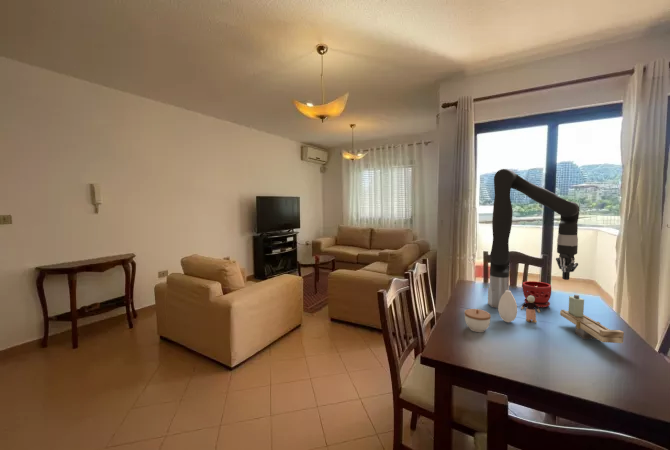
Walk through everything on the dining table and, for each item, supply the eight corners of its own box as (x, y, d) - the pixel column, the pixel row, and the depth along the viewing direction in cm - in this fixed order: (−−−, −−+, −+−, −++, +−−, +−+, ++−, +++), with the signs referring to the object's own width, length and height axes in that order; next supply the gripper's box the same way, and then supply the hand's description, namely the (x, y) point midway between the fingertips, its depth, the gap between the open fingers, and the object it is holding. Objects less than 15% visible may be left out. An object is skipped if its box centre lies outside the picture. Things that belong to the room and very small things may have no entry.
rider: (574, 316, 127) (575, 296, 126) (568, 313, 131) (569, 293, 130) (583, 316, 126) (584, 297, 125) (577, 313, 130) (578, 294, 129)
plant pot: (549, 302, 160) (550, 282, 159) (551, 310, 149) (552, 288, 148) (521, 298, 167) (522, 279, 166) (522, 306, 156) (523, 285, 155)
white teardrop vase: (518, 326, 132) (520, 288, 131) (500, 324, 135) (501, 287, 133) (514, 319, 140) (515, 283, 138) (496, 317, 142) (497, 282, 141)
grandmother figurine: (538, 320, 138) (539, 295, 136) (540, 323, 134) (541, 297, 133) (519, 318, 141) (520, 293, 140) (521, 321, 137) (522, 296, 136)
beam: (599, 351, 109) (601, 331, 108) (558, 322, 134) (559, 305, 134) (624, 353, 108) (625, 332, 107) (577, 323, 133) (578, 306, 132)
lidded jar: (466, 322, 138) (467, 303, 137) (491, 327, 131) (492, 308, 131) (462, 330, 129) (462, 311, 128) (488, 337, 123) (489, 316, 122)
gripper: (550, 241, 141) (549, 275, 142) (567, 246, 128) (565, 283, 129) (567, 241, 139) (565, 275, 141) (586, 246, 126) (584, 283, 128)
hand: (565, 279), depth 135 cm, fingers closed
